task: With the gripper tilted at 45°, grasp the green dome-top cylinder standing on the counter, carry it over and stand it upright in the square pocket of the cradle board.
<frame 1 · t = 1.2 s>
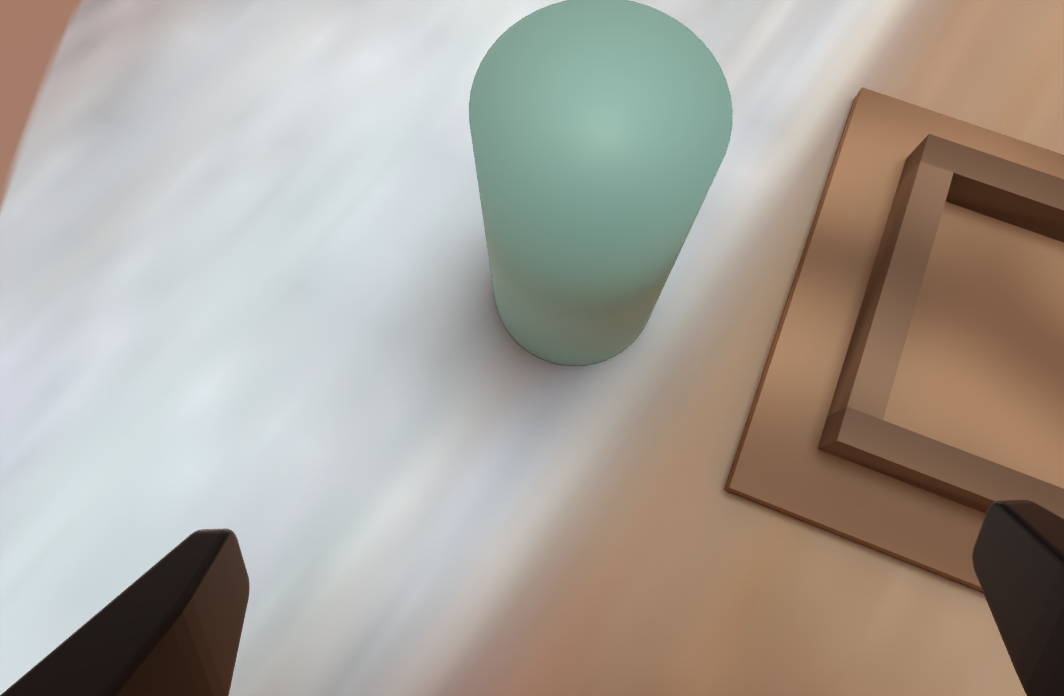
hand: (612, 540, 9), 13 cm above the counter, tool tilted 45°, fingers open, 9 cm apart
green dome-top cylinder: (574, 288, 24), on the counter
cradle board: (1015, 360, 24), on the counter
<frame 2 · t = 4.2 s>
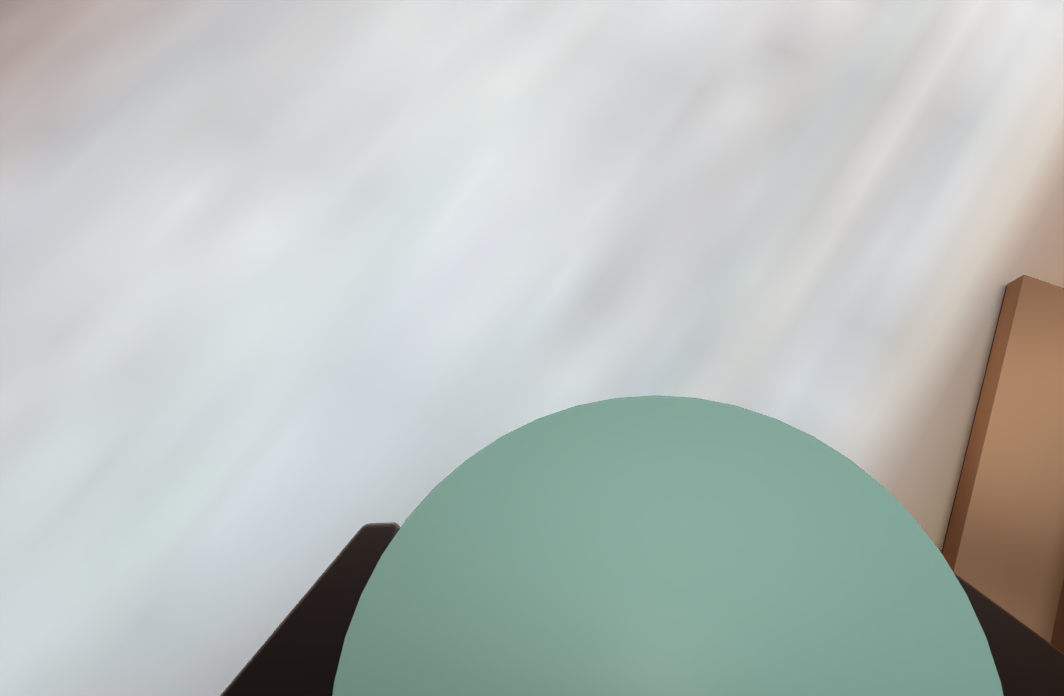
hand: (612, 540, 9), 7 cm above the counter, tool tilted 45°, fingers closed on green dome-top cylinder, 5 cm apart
green dome-top cylinder: (583, 617, 15), on the counter, touching gripper
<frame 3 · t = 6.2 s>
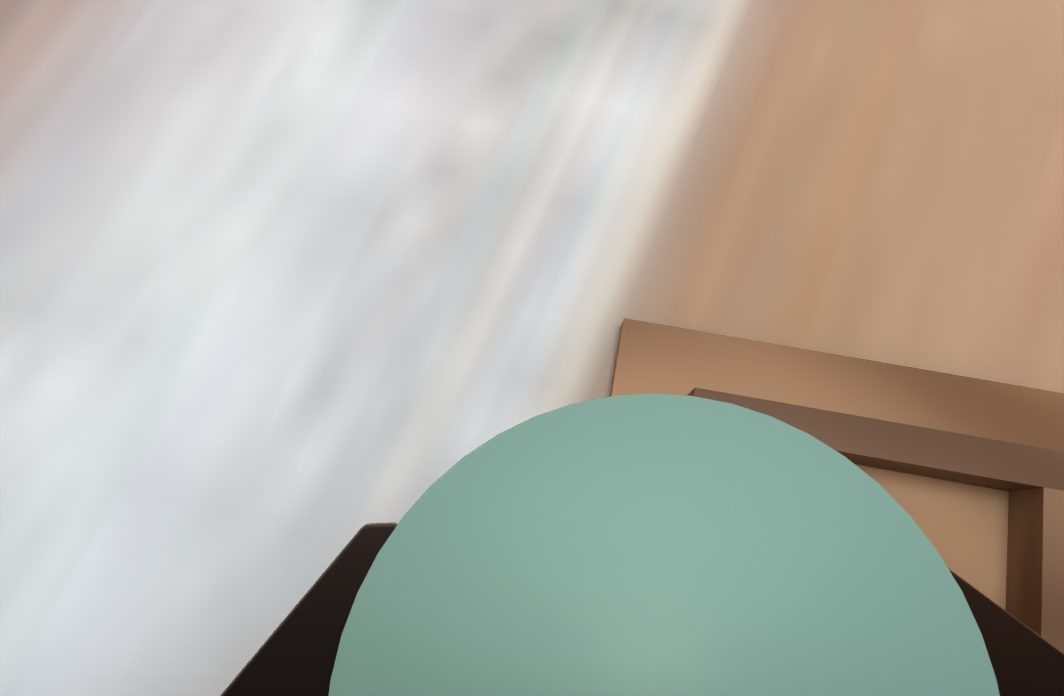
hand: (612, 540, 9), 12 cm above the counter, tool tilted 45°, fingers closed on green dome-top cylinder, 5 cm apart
green dome-top cylinder: (581, 616, 15), point 6 cm above the counter, touching gripper
cradle board: (840, 615, 21), on the counter
when the fingers open (8 cm above the counter, at t = 8.3 s): green dome-top cylinder stays where it is, resting on cradle board.
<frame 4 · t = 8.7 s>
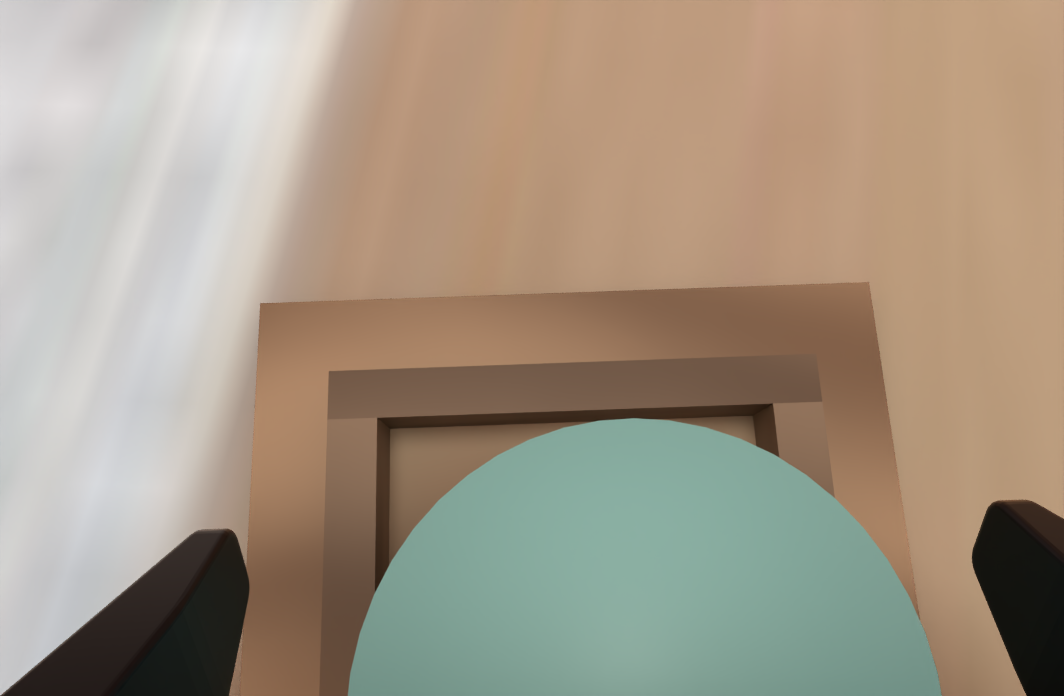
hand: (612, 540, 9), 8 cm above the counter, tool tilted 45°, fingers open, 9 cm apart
green dome-top cylinder: (581, 614, 16), point 1 cm above the counter, touching cradle board
cradle board: (579, 611, 17), on the counter
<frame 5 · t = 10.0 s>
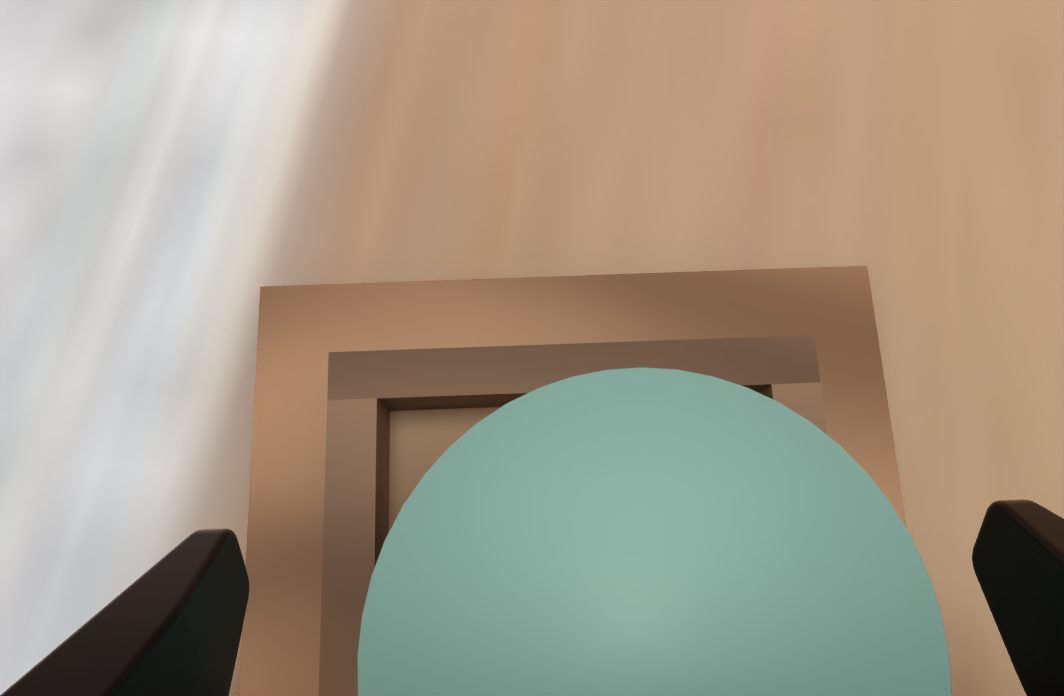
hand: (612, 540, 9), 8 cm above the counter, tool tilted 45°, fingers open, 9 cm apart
green dome-top cylinder: (580, 595, 16), point 1 cm above the counter, touching cradle board
cradle board: (578, 592, 17), on the counter
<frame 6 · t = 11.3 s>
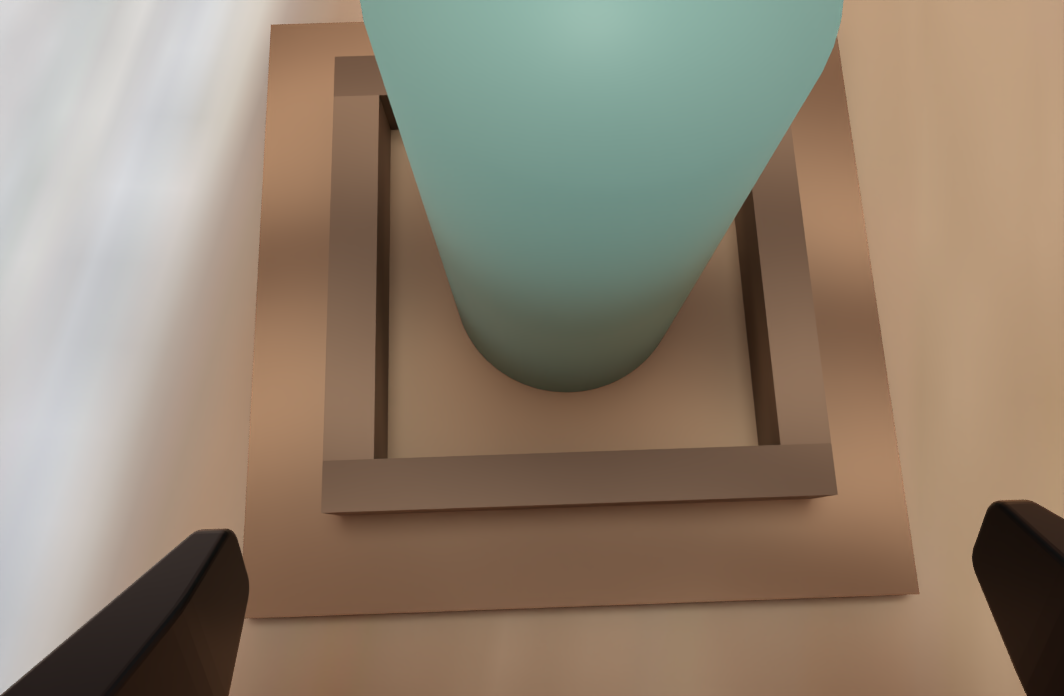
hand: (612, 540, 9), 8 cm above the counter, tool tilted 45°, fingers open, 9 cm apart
green dome-top cylinder: (565, 284, 18), point 1 cm above the counter, touching cradle board
cradle board: (564, 291, 18), on the counter
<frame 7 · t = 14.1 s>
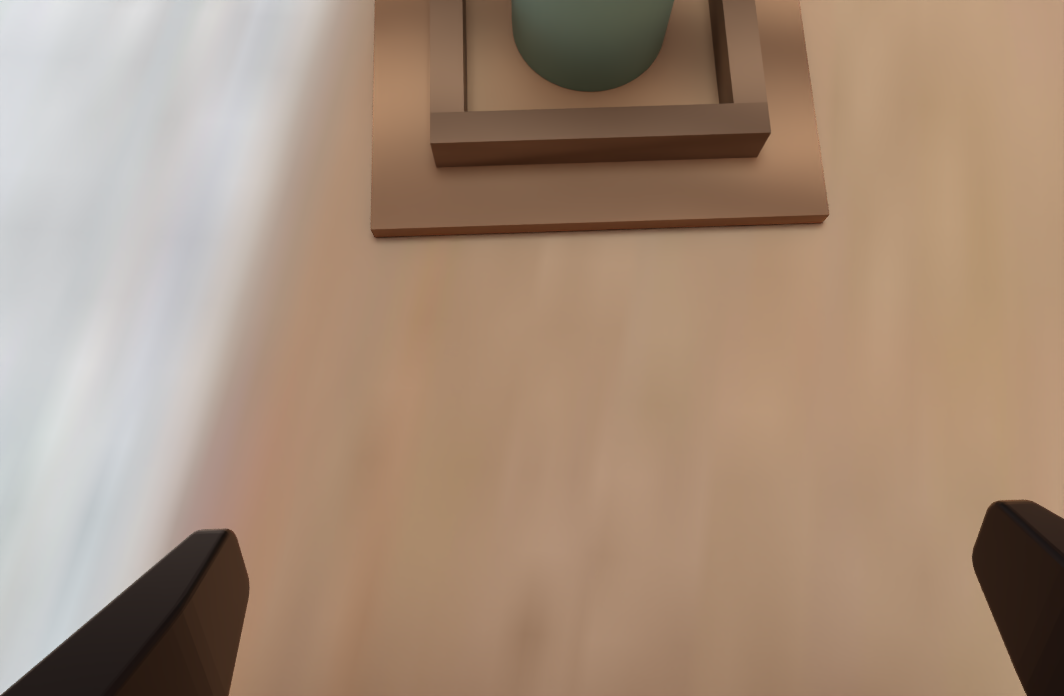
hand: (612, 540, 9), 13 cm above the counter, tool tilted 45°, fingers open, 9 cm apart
green dome-top cylinder: (588, 24, 26), point 1 cm above the counter, touching cradle board
cradle board: (587, 35, 26), on the counter
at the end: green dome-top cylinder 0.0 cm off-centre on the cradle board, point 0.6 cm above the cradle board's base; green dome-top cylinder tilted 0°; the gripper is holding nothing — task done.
